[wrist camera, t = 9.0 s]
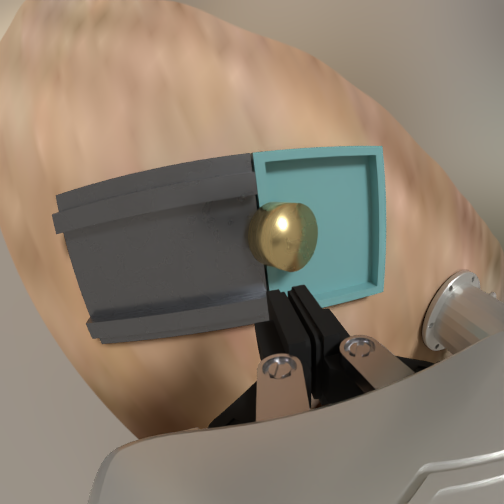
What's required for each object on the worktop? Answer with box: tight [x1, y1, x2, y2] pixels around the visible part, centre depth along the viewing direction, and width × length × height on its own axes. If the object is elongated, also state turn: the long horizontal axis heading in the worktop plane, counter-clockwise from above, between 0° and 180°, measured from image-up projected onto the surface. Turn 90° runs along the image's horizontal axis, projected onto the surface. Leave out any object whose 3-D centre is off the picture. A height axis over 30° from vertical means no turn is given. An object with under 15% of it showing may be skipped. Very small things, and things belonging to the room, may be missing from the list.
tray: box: [250, 146, 386, 308], centre depth 23 cm, size 12×14×2 cm
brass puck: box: [248, 202, 318, 272], centre depth 21 cm, size 5×5×2 cm
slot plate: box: [52, 153, 269, 344], centre depth 21 cm, size 16×14×3 cm
